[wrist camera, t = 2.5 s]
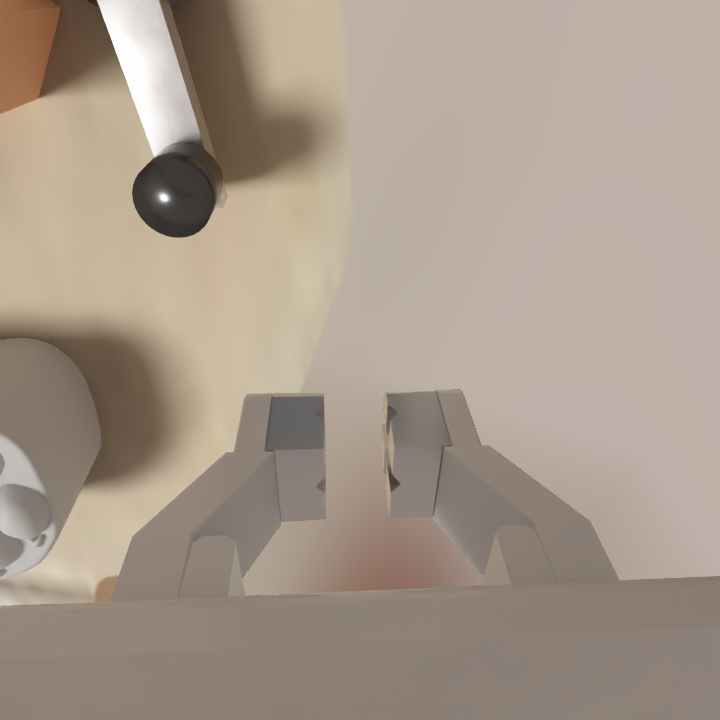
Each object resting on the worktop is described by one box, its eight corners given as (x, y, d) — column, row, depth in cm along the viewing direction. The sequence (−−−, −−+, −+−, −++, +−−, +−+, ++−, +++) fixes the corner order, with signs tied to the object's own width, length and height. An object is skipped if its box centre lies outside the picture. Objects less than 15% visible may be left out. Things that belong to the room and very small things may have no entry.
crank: (24, -150, 18) (-50, -183, 15) (149, -176, 18) (105, -217, 15) (160, 208, 26) (133, 245, 22) (250, 192, 26) (238, 227, 22)
